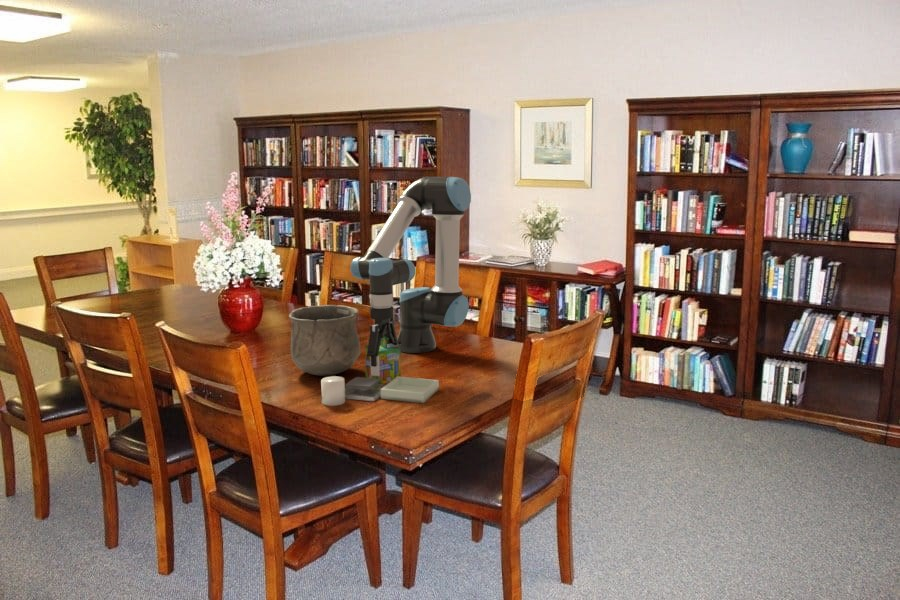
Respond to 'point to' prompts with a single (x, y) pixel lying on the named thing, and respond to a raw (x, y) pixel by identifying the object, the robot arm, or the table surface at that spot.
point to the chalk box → (385, 362)
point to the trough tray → (410, 389)
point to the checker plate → (362, 383)
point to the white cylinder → (333, 390)
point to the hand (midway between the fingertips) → (383, 370)
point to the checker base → (364, 393)
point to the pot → (324, 339)
